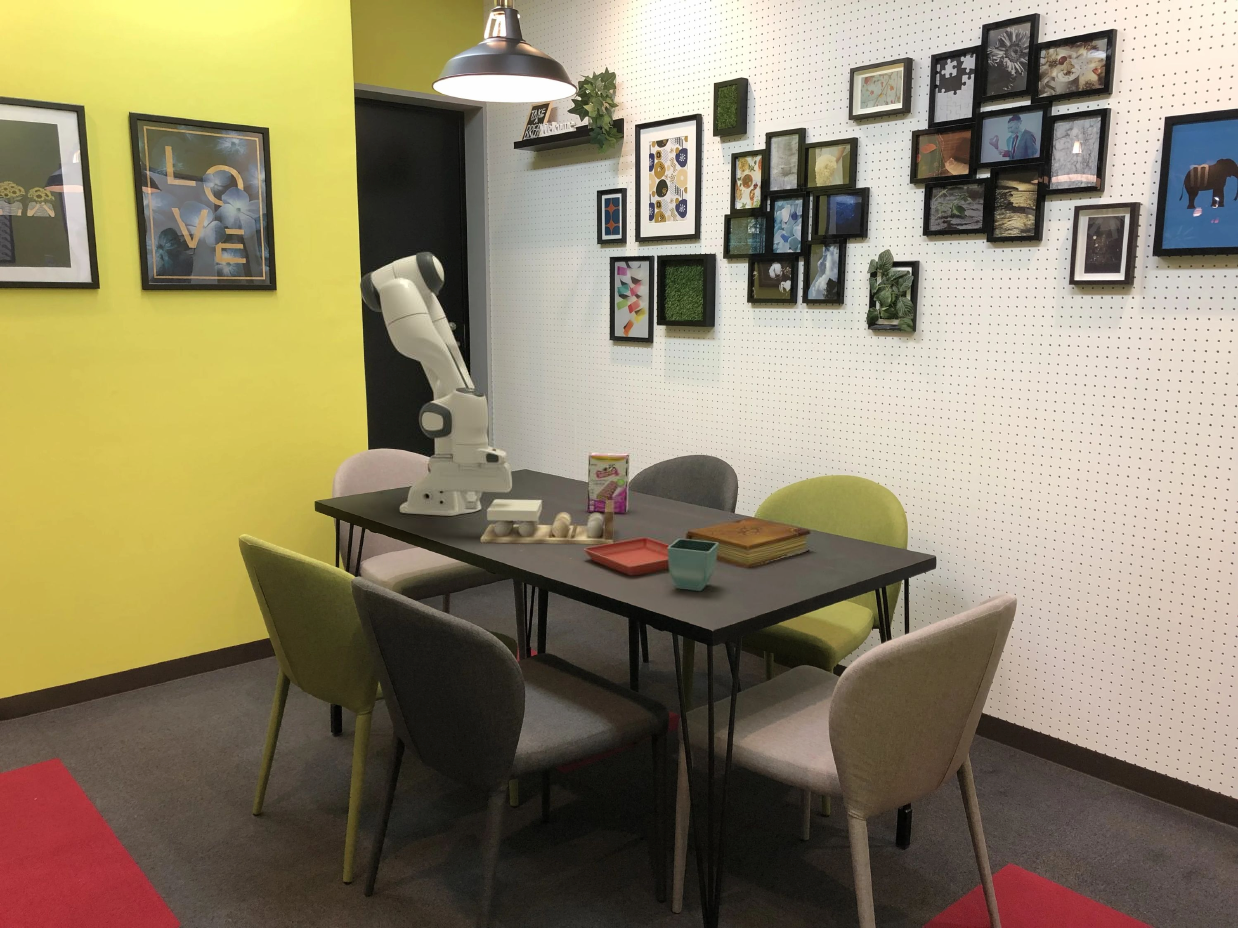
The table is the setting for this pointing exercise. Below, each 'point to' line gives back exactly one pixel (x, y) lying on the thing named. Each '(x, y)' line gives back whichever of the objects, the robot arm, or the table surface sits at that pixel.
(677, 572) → the flower pot
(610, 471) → the candy bar box
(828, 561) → the table surface
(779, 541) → the diary
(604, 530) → the roller bed
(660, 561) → the plant saucer
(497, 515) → the slab
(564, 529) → the roller
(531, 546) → the table surface
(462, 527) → the table surface
